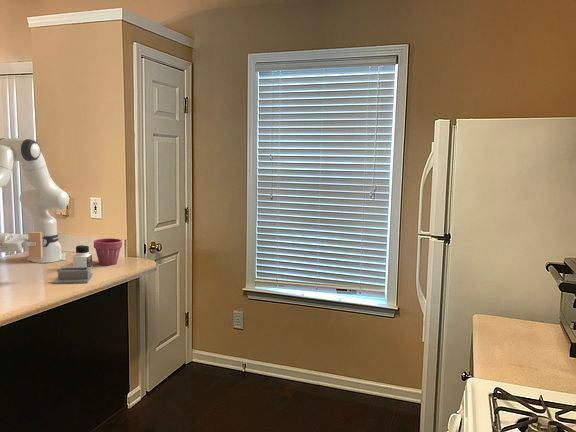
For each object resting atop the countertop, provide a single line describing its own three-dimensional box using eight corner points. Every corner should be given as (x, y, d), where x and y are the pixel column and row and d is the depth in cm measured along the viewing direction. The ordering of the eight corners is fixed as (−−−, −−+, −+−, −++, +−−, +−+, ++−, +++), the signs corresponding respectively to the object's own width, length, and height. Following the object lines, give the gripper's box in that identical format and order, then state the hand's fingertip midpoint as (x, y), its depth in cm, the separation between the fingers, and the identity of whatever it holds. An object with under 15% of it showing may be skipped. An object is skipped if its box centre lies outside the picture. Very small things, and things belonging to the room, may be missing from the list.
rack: (61, 275, 220) (61, 265, 219) (92, 275, 223) (92, 265, 223) (53, 283, 206) (53, 273, 206) (87, 283, 210) (86, 272, 209)
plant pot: (123, 260, 256) (123, 237, 254) (121, 266, 243) (121, 242, 241) (95, 260, 252) (95, 238, 250) (92, 267, 239) (91, 243, 237)
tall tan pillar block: (30, 257, 211) (30, 231, 209) (42, 257, 212) (42, 231, 210) (28, 258, 208) (28, 232, 206) (41, 258, 209) (40, 233, 207)
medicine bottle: (87, 270, 232) (86, 247, 230) (72, 270, 231) (72, 246, 230) (92, 267, 239) (91, 244, 237) (78, 266, 238) (77, 244, 237)
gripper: (-6, 240, 195) (30, 240, 199) (11, 231, 215) (43, 231, 218) (-5, 254, 196) (30, 254, 199) (11, 245, 216) (43, 244, 219)
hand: (37, 242), depth 209 cm, fingers closed on tall tan pillar block, 3 cm apart
